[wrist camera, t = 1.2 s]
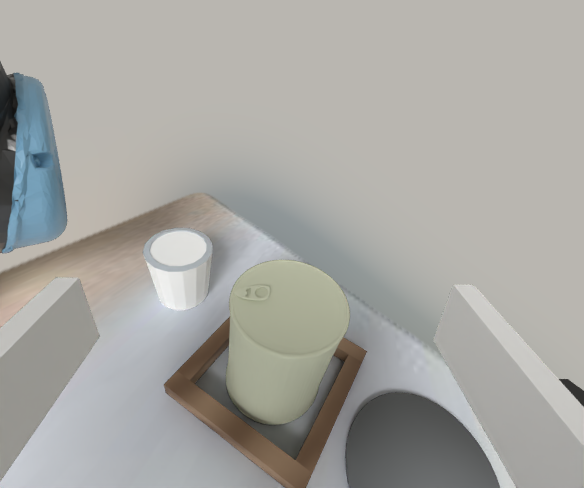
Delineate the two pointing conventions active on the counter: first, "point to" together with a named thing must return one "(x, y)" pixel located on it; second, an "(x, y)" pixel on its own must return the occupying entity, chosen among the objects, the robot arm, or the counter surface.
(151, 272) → the shot glass
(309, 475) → the pocket
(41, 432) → the counter surface
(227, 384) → the can
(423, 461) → the mat
